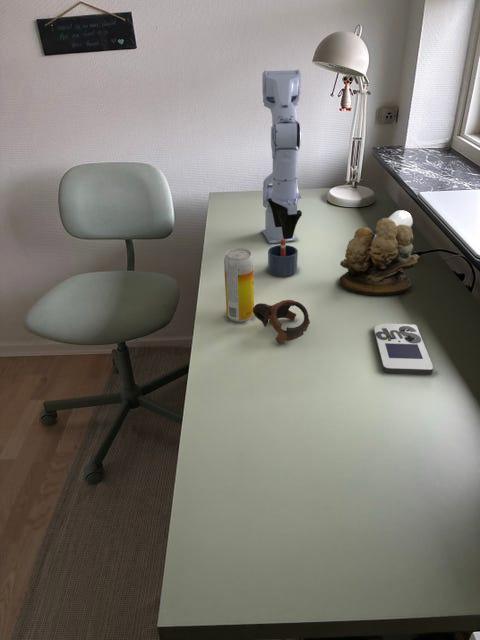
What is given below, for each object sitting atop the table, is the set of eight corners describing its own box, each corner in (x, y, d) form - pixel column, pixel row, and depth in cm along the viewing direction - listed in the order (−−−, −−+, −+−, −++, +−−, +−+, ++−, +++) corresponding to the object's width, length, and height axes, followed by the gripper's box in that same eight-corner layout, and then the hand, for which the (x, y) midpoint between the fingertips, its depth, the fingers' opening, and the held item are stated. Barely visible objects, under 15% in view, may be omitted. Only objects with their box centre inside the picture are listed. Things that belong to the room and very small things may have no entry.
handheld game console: (383, 372, 89) (384, 367, 89) (372, 328, 102) (372, 322, 101) (433, 374, 89) (434, 368, 88) (415, 329, 101) (416, 323, 100)
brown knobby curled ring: (307, 320, 106) (316, 301, 99) (297, 358, 101) (306, 341, 94) (255, 304, 106) (260, 284, 99) (243, 341, 102) (247, 323, 95)
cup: (265, 265, 128) (265, 246, 125) (292, 262, 129) (292, 243, 126) (272, 278, 122) (272, 258, 119) (300, 275, 123) (301, 255, 120)
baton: (279, 267, 126) (280, 239, 121) (284, 267, 126) (284, 238, 122) (280, 270, 125) (281, 241, 120) (285, 269, 125) (286, 240, 121)
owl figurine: (408, 273, 122) (419, 207, 113) (420, 296, 112) (434, 226, 103) (336, 273, 123) (341, 208, 114) (342, 296, 113) (349, 227, 104)
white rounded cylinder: (381, 257, 135) (400, 235, 145) (399, 244, 130) (418, 223, 140) (365, 238, 135) (385, 218, 145) (383, 225, 130) (402, 205, 140)
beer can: (258, 311, 109) (257, 250, 101) (247, 325, 104) (245, 262, 96) (233, 306, 111) (231, 245, 103) (222, 319, 106) (218, 257, 98)
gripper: (311, 185, 108) (308, 242, 115) (292, 168, 120) (290, 220, 127) (280, 188, 107) (279, 245, 114) (264, 170, 119) (264, 222, 126)
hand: (283, 232), depth 121 cm, fingers open, 7 cm apart
